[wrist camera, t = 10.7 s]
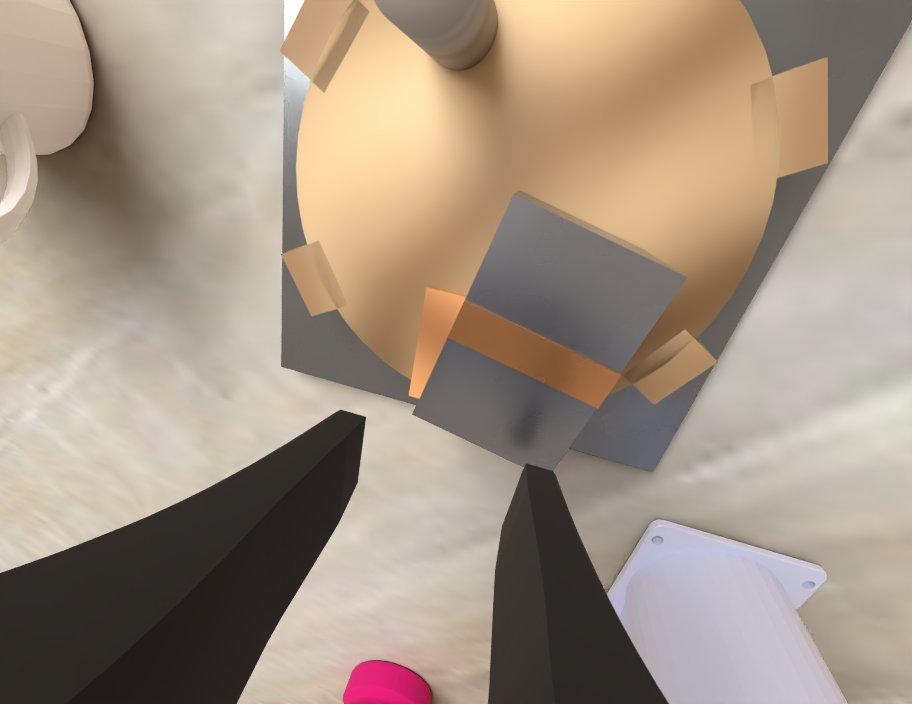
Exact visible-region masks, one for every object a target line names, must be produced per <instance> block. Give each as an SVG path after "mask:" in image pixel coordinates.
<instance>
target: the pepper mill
mask: <svg viewBox="0 0 912 704" xmlns="http://www.w3.org/2000/svg"><path fill="white" fill-rule="evenodd" d="M343 702H344V704H430V703H431V692H430V690H429V687H428V685H427V684H426V683H425V681H424V680H423V679H422V678H420V677H419V676H418V675H417V674H416V673H414V672H412V671H410V670H408V669H407V668H405V667H402V666H400V665H397V664H394V663H389V662H385V661H368V662H364V663H361V664H359V665H358V666H356V667H355V668H354V670H353V671H352V673H351V676H350V679H349V682H348V684H347V687H346V690H345V692H344V695H343Z"/></svg>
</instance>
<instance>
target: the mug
mask: <svg viewBox="0 0 912 704" xmlns="http://www.w3.org/2000/svg"><path fill="white" fill-rule="evenodd" d="M93 87H94V81H93V73H92V66H91V59H90V52H89V49H88V46H87V43H86V39H85V36H84V33H83V30H82V27H81V24H80V21H79V18H78V16H77V14H76V12H75V10H74V8H73V6H72V4H71V2H70V0H0V155H5V158H6V164H7V169H8V170H7V187H6V190H5V194H4V197H3V200H2V201H1V202H0V244H1V243H3V242H4V241H6V240H7V239H9V238H10V237H12V236H13V234H14V233H15V231H16V230H17V228H18V227H19V225H20V224H21V222H22V220H23V219H24V217H25V216H26V214H27V212H28V211H29V209H30V207H31V205H32V204H33V200H34V196H35V192H36V187H37V183H38V170H37V159H36V155H49V154H52V153H54V152H57V151H59V150H61V149H63V148H66V147H68V146H69V145H71V144H72V143H73V142H74V141H75V140H76V139H77V138H78V136H79V135H80V134H81V133H82V132H83V131H84V129H85V126H86V124H87V121H88V118H89V115H90V113H91V110H92V100H93Z"/></svg>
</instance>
